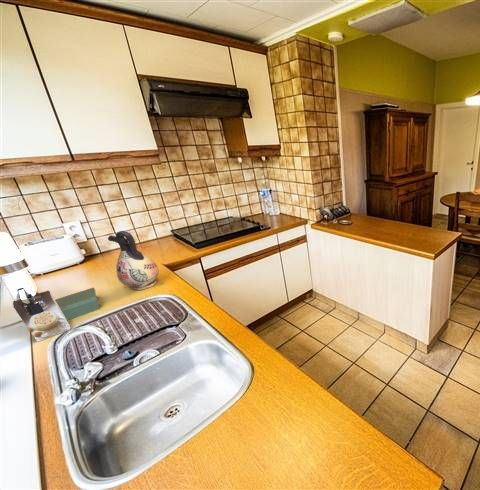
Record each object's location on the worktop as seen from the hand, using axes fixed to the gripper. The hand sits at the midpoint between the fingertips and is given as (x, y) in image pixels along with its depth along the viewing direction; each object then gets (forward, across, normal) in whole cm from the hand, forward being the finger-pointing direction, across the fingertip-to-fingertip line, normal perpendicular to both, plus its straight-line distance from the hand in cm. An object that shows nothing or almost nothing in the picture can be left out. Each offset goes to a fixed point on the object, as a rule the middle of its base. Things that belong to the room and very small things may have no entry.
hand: (38, 309), depth 99 cm
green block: (+11, -13, +6) cm, 18 cm away
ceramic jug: (+11, -15, +31) cm, 36 cm away
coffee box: (+11, 0, 0) cm, 11 cm away
